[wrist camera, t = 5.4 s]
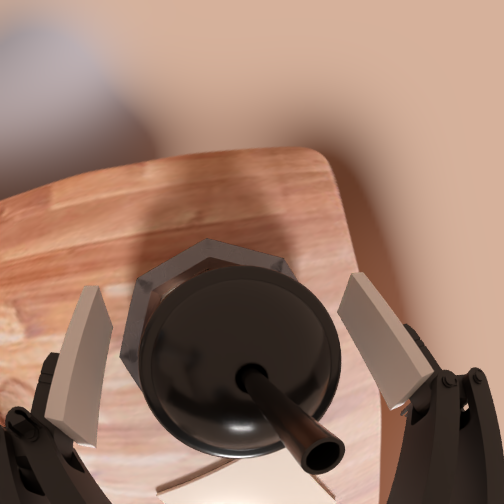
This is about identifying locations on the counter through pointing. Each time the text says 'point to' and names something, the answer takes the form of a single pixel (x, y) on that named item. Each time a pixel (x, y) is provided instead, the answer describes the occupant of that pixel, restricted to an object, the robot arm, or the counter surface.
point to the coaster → (251, 484)
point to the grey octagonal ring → (175, 274)
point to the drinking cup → (244, 367)
